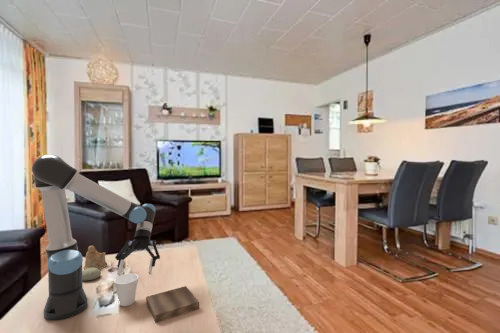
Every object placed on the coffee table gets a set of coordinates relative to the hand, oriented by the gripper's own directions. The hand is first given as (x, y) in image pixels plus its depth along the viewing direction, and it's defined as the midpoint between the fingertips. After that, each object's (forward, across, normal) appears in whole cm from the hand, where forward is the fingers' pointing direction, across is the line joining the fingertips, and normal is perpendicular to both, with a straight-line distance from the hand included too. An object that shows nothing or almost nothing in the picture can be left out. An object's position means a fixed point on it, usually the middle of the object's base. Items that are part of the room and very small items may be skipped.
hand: (134, 274), depth 123 cm
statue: (-16, +32, -32) cm, 48 cm away
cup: (+12, +2, -3) cm, 12 cm away
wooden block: (+14, -19, 0) cm, 24 cm away
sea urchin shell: (-7, +28, -22) cm, 37 cm away
